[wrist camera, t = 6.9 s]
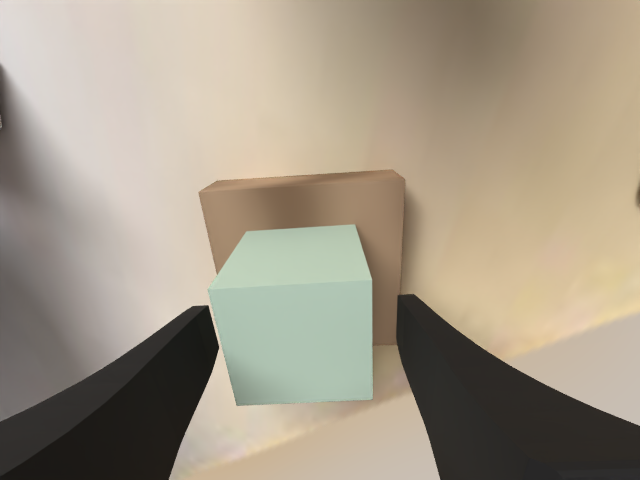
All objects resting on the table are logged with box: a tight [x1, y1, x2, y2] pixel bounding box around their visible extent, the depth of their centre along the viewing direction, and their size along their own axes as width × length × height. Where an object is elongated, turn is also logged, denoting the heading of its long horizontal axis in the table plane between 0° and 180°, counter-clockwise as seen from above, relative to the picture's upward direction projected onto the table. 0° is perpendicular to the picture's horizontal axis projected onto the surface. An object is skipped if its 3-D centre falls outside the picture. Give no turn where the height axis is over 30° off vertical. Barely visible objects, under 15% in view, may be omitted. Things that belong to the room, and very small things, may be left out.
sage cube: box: [208, 224, 373, 406], centre depth 12 cm, size 5×5×5 cm
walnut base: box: [198, 170, 405, 345], centre depth 16 cm, size 9×9×3 cm
